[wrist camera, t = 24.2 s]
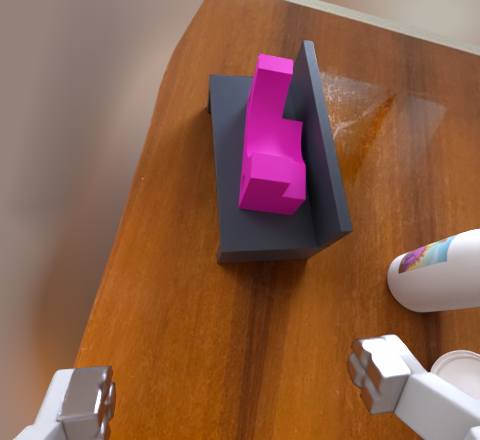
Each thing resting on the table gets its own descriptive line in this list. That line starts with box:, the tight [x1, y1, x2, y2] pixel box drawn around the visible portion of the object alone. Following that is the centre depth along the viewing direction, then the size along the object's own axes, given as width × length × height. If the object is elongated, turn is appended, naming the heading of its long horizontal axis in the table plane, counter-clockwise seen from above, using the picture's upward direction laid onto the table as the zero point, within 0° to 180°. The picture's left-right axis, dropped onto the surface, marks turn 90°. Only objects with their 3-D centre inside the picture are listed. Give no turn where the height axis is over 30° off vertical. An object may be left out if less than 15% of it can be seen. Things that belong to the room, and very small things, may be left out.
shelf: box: [207, 41, 353, 264], centre depth 38 cm, size 12×24×12 cm, turn 5°
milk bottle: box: [387, 229, 480, 312], centre depth 33 cm, size 8×8×20 cm
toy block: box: [239, 54, 306, 215], centre depth 35 cm, size 15×6×8 cm, turn 176°
